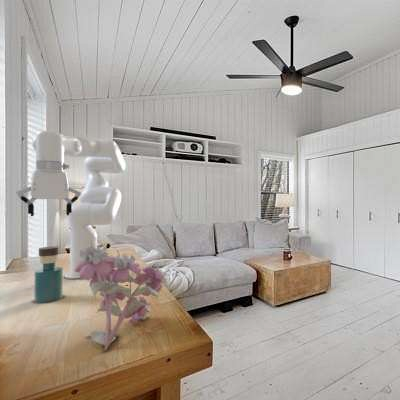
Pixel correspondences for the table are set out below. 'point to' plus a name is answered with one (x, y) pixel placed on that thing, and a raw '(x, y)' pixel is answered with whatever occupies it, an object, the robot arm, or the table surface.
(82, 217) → the robot arm
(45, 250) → the brown round puck
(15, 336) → the table surface
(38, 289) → the bottle
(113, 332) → the flower
